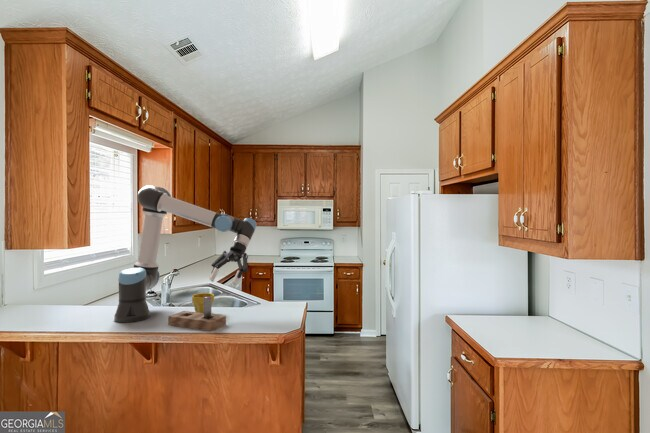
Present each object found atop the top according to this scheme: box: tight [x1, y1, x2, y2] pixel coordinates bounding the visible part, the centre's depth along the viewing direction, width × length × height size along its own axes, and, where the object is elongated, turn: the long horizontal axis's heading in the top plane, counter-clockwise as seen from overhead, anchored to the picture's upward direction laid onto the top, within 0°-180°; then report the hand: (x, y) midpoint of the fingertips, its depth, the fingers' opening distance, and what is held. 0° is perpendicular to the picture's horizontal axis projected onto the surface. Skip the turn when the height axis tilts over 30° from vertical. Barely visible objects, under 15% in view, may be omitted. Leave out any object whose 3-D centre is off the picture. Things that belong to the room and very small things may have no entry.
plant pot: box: [191, 292, 215, 313], centre depth 185 cm, size 10×10×10 cm
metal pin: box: [204, 297, 212, 319], centre depth 166 cm, size 3×3×12 cm
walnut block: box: [167, 310, 227, 332], centre depth 168 cm, size 24×10×4 cm, turn 69°
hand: (222, 282), depth 179 cm, fingers open, 13 cm apart
